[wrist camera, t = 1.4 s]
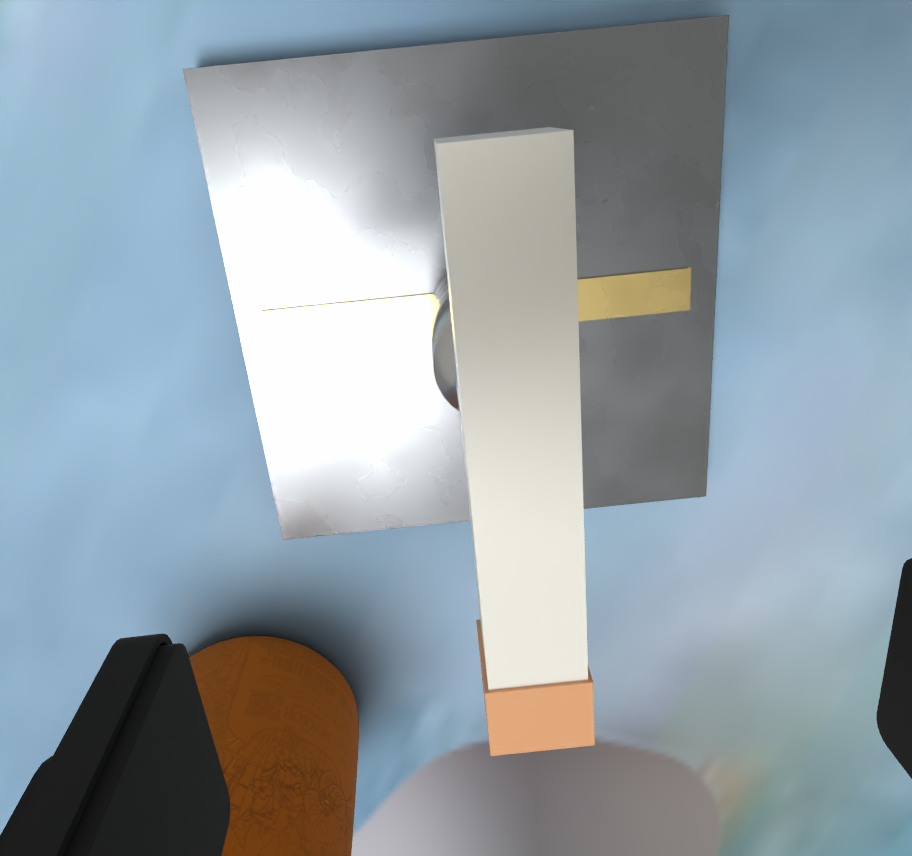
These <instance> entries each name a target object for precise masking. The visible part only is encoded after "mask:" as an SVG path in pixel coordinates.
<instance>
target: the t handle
mask: <svg viewBox="0 0 912 856" xmlns="http://www.w3.org/2000/svg"><path fill="white" fill-rule="evenodd" d="M434 144H435V155H436V165H437V176H438V186H439V196H440V207H441V217H442V228H443V238H444V248H445V259H446V269H447V280H448V290H449V301H450V311H451V321H452V332H453V342H454V353H455V365H454V374H455V381H456V389H457V396H458V404H459V411H460V418H461V426H462V436H463V446H464V457H465V467H466V478H467V488H468V498H469V509H470V519H471V530H472V540H473V550H474V561H475V571H476V582H477V592H478V603H479V613H480V620H476V621H477V631H478V641H479V651H480V661H481V671H482V681H483V690H484V699H485V708H486V717H487V726H488V735H489V744H490V753H491V756H495V755H504V754H515V753H524V752H534V751H543V750H553V749H562V748H572V747H581V746H591V745H595V740H594V697H593V680H592V677H591V674H590V671H589V667H588V657H587V620H586V583H585V545H584V508H583V471H582V433H581V396H580V359H579V321H578V284H577V247H576V209H575V172H574V135H573V130H568V129H561V128H553V127H545V128H535V129H525V130H515V131H505V132H495V133H485V134H475V135H465V136H455V137H445V138H435V139H434Z"/></svg>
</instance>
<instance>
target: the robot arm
mask: <svg viewBox="0 0 912 856" xmlns="http://www.w3.org/2000/svg"><path fill="white" fill-rule="evenodd" d="M877 724H878V728H879V732H880V734H881V737H882V739H883V741H884V742H885V744H886V745H887V747H888V748H889V749H890V751H891V752H892V753H893V755H894V756H895V757H896V759H897V760H898V761H899V763H900V764H901V765H902V767H903V768H904V769H905V770H906V772H907V773H908V774H909V776H910V777H911V778H912V558H911V559H909V560H907V561H906V562H905V563H904V566H903V569H902V574H901V579H900V585H899V591H898V596H897V602H896V608H895V613H894V619H893V625H892V630H891V636H890V642H889V647H888V653H887V659H886V664H885V670H884V676H883V681H882V687H881V693H880V698H879V704H878V710H877ZM229 821H230V796H229V791H228V788H227V785H226V781H225V778H224V774H223V771H222V768H221V764H220V761H219V757H218V754H217V751H216V747H215V744H214V741H213V737H212V734H211V730H210V727H209V724H208V720H207V717H206V713H205V710H204V707H203V703H202V700H201V697H200V693H199V690H198V686H197V683H196V680H195V676H194V673H193V669H192V666H191V663H190V659H189V656H188V653H187V650H186V648H185V646H184V645H183V644H180V643H179V644H172V641H171V639H170V638H169V637H168V635H166V634H156V635H147V636H138V637H130V638H121V639H119V640H117V641H116V642H115V643H114V645H113V646H112V648H111V649H110V651H109V653H108V655H107V657H106V659H105V661H104V662H103V664H102V666H101V668H100V670H99V672H98V674H97V675H96V677H95V679H94V681H93V683H92V685H91V687H90V688H89V690H88V692H87V694H86V696H85V698H84V700H83V701H82V703H81V705H80V707H79V709H78V711H77V713H76V714H75V716H74V718H73V720H72V722H71V724H70V725H69V727H68V729H67V731H66V733H65V735H64V737H63V738H62V740H61V742H60V744H59V746H58V748H57V750H56V751H55V753H54V755H53V756H51V757H50V758H49V759H47V760H46V761H44V762H43V763H42V764H41V766H40V767H39V768H38V770H37V771H36V773H35V774H34V776H33V777H32V779H31V781H30V783H29V785H28V786H27V788H26V790H25V792H24V794H23V796H22V797H21V799H20V801H19V803H18V805H17V806H16V808H15V810H14V812H13V814H12V815H11V817H10V819H9V821H8V823H7V824H6V826H5V828H4V830H3V832H2V833H1V835H0V856H221V855H222V851H223V847H224V843H225V839H226V835H227V830H228V826H229Z"/></svg>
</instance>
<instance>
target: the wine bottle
mask: <svg viewBox="0 0 912 856" xmlns="http://www.w3.org/2000/svg"><path fill="white" fill-rule="evenodd" d="M189 659H190V663H191V666H192V669H193V673H194V676H195V680H196V683H197V686H198V690H199V693H200V697H201V700H202V703H203V707H204V710H205V713H206V717H207V720H208V724H209V727H210V730H211V734H212V737H213V741H214V744H215V747H216V751H217V754H218V757H219V761H220V764H221V768H222V771H223V774H224V778H225V781H226V785H227V788H228V791H229V796H230V821H229V826H228V830H227V835H226V839H225V843H224V847H223V851H222V855H221V856H351V849H352V837H353V823H354V808H355V793H356V778H357V762H358V742H359V721H358V710H357V705H356V701H355V698H354V695H353V692H352V690H351V688H350V686H349V684H348V682H347V681H346V679H345V678H344V676H343V675H342V674H341V673H340V671H339V670H338V669H337V668H336V667H335V666H334V665H333V664H332V663H331V662H329V661H328V660H327V659H326V658H325V657H323V656H322V655H320V654H319V653H317V652H316V651H314V650H312V649H310V648H308V647H306V646H304V645H301V644H299V643H296V642H293V641H290V640H286V639H282V638H276V637H270V636H245V637H238V638H233V639H229V640H225V641H222V642H218V643H216V644H213V645H211V646H208V647H206V648H204V649H203V650H201V651H199V652H197V653H196V654H194V655H193V656H192V657H190V658H189Z"/></svg>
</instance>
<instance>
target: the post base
mask: <svg viewBox="0 0 912 856" xmlns="http://www.w3.org/2000/svg"><path fill="white" fill-rule="evenodd" d="M728 22H729V15H725V16H714V17H704V18H694V19H684V20H674V21H664V22H654V23H644V24H633V25H623V26H613V27H603V28H593V29H583V30H573V31H563V32H552V33H542V34H532V35H522V36H512V37H502V38H492V39H482V40H472V41H461V42H451V43H441V44H431V45H421V46H411V47H401V48H391V49H380V50H370V51H360V52H350V53H340V54H330V55H320V56H310V57H299V58H289V59H279V60H269V61H259V62H249V63H239V64H229V65H218V66H208V67H198V68H188V69H183V73H184V77H185V82H186V87H187V91H188V96H189V101H190V106H191V110H192V115H193V120H194V124H195V129H196V134H197V138H198V143H199V148H200V152H201V157H202V162H203V167H204V171H205V176H206V181H207V185H208V190H209V195H210V199H211V204H212V209H213V213H214V218H215V223H216V227H217V232H218V237H219V242H220V246H221V251H222V256H223V260H224V265H225V270H226V274H227V279H228V284H229V288H230V293H231V298H232V303H233V307H234V312H235V317H236V321H237V326H238V331H239V335H240V340H241V345H242V349H243V354H244V359H245V363H246V368H247V373H248V378H249V382H250V387H251V392H252V396H253V401H254V406H255V410H256V415H257V420H258V424H259V429H260V434H261V439H262V443H263V448H264V453H265V457H266V462H267V467H268V471H269V476H270V481H271V485H272V490H273V495H274V499H275V504H276V509H277V514H278V518H279V523H280V528H281V532H282V537H283V540H285V539H294V538H304V537H314V536H323V535H333V534H343V533H353V532H362V531H372V530H382V529H392V528H401V527H411V526H421V525H430V524H440V523H450V522H460V521H469V520H471V519H470V509H469V498H468V488H467V478H466V467H465V457H464V446H463V436H462V426H461V418H460V411H459V404H458V396H457V389H456V381H455V374H454V365H455V353H454V342H453V332H452V321H451V311H450V301H449V290H448V280H447V269H446V259H445V248H444V238H443V228H442V217H441V207H440V196H439V186H438V176H437V165H436V155H435V144H434V139H435V138H445V137H455V136H465V135H475V134H485V133H495V132H505V131H515V130H525V129H535V128H545V127H553V128H561V129H568V130H573V135H574V172H575V209H576V247H577V284H578V321H579V359H580V396H581V433H582V471H583V508H584V509H586V508H596V507H606V506H615V505H625V504H635V503H644V502H654V501H664V500H674V499H683V498H693V497H703V496H706V487H707V466H708V445H709V424H710V403H711V382H712V360H713V339H714V318H715V297H716V276H717V255H718V233H719V212H720V191H721V170H722V149H723V128H724V107H725V85H726V64H727V43H728Z"/></svg>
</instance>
